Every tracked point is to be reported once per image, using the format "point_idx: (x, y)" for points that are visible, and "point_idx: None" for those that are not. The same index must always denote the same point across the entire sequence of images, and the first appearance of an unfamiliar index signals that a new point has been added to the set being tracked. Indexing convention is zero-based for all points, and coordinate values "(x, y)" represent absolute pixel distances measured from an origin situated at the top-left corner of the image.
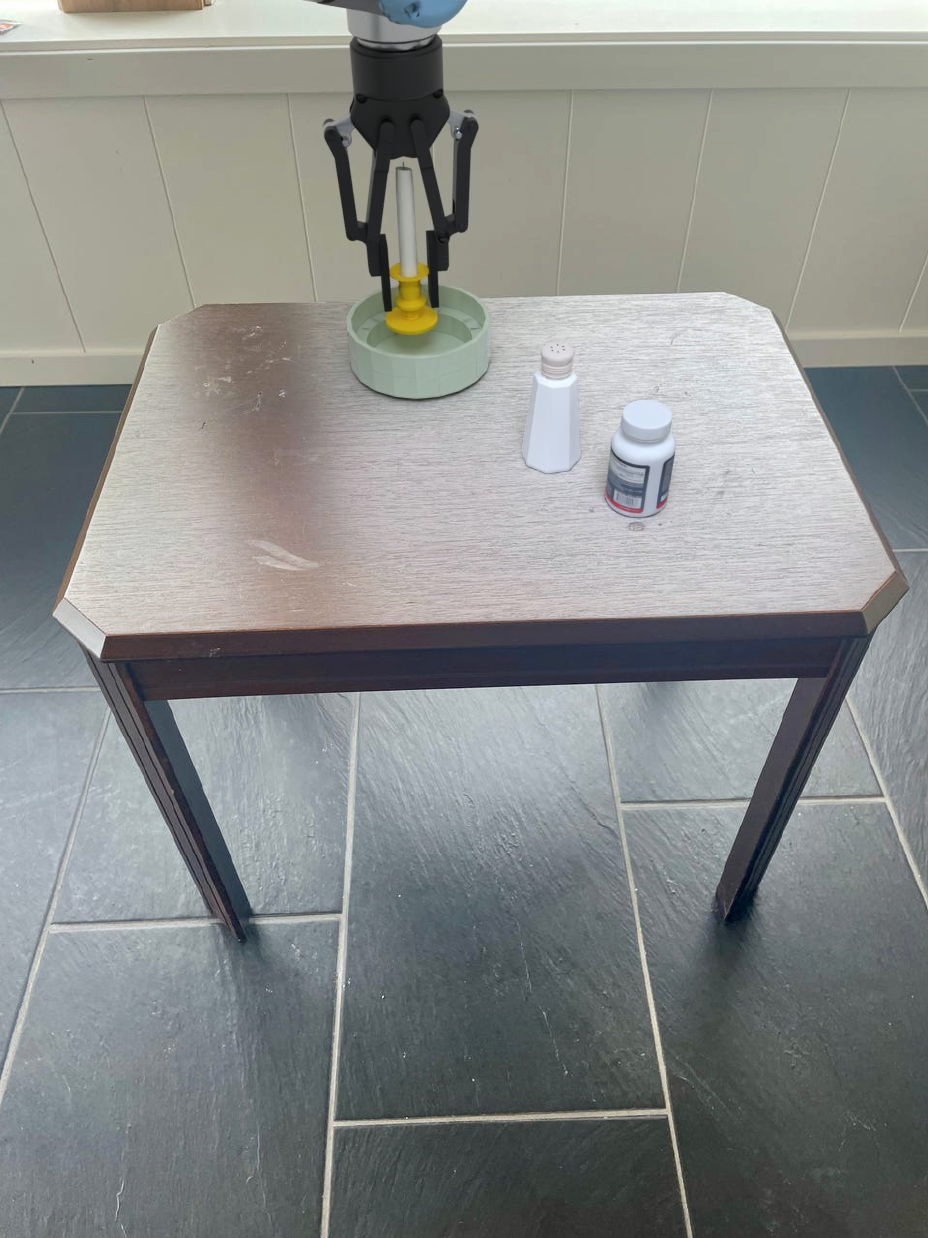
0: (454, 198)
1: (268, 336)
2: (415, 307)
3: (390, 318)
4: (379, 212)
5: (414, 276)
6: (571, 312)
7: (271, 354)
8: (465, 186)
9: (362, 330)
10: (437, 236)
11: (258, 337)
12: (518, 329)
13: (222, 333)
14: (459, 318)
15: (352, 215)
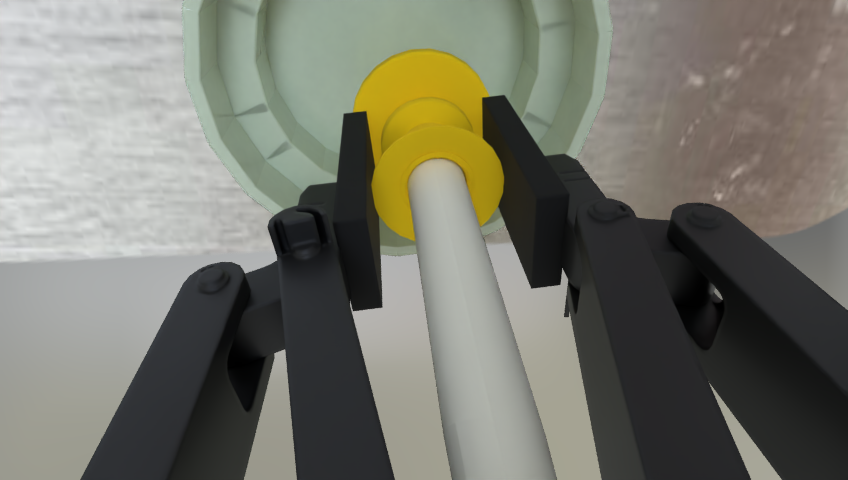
0: (228, 398)
1: (708, 165)
2: (414, 102)
3: (479, 116)
4: (616, 294)
5: (420, 164)
6: (68, 237)
7: (721, 100)
8: (120, 449)
9: (543, 112)
10: (328, 243)
11: (728, 162)
12: (177, 178)
13: (790, 178)
14: (301, 157)
15: (749, 274)
